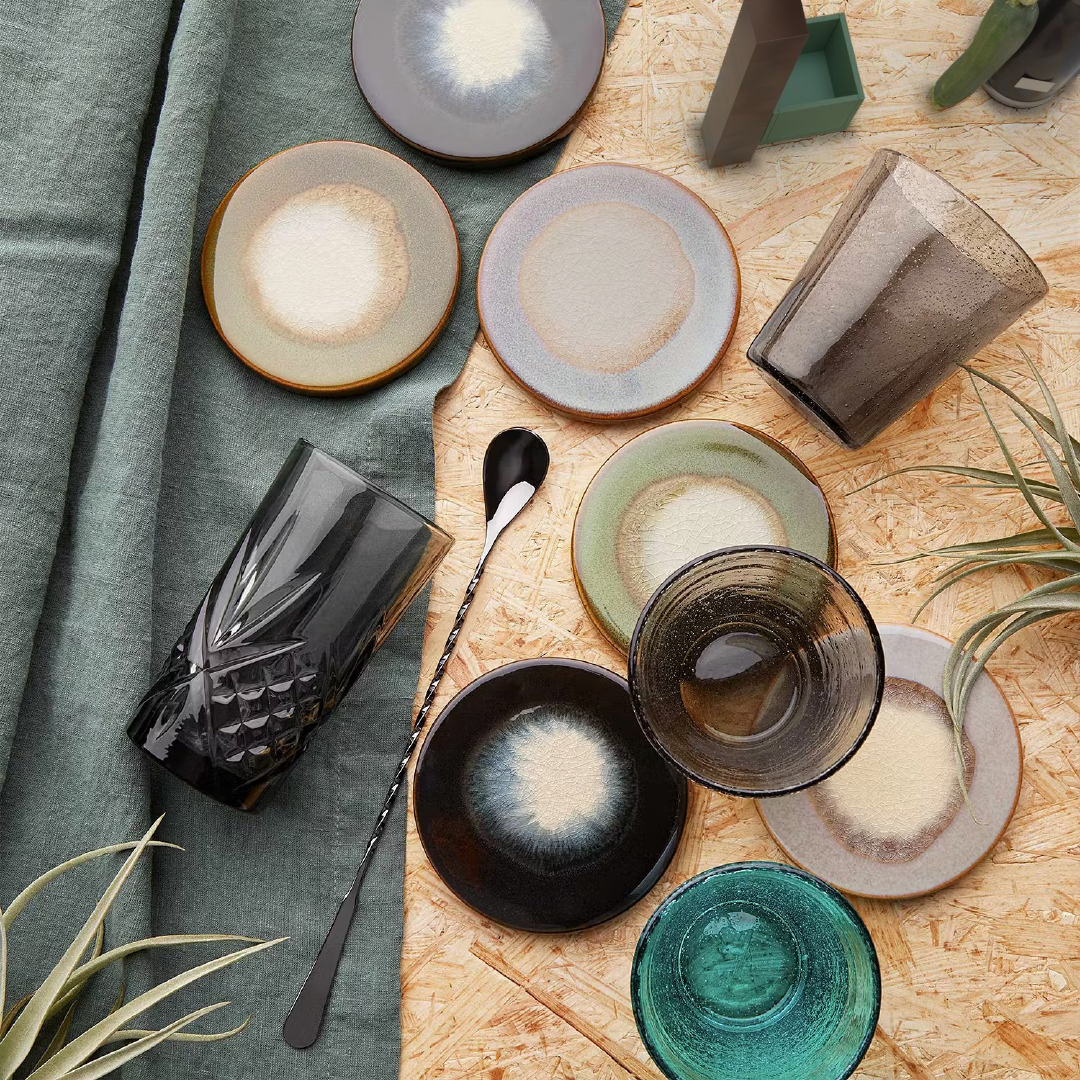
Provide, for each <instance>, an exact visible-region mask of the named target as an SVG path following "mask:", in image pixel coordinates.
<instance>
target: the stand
mask: <svg viewBox="0 0 1080 1080" xmlns="http://www.w3.org/2000/svg"><path fill="white" fill-rule="evenodd" d="M806 18H807V17H806V14H805V11H804V5H803V1H802V0H742V4H741V7H740V10H739V12H738V16H737V18H736V21H735V23H734V28H733V30H732V33H731V36H730V40H729V42H728V45H727V48H726V51H725V54H724V57H723V61H722V63H721V66H720V69H719V72H718V74H717V78H716V81H715V84H714V86H713V89H712V93H711V96H710V98H709V101H708V105H707V108H706V111H705V114H704V117H703V120H702V122H701V125H700V128H699V129H700V134H701V139H702V144H703V149H704V153H705V157H706V162H707V167H708V169H709V170H710V169H715V168H716V169H717V168H721V167H726V166H727V167H728V166H733V165H739V164H744V163H749V162H752V159H753V157H754V155H755V153H756V151H757V148H758V146H759V142H760V140H761V138H762V136H763V133H764V131H765V129H766V127H767V125H768V123H769V120H770V118H771V116H772V114H773V112H774V110H775V108H776V105H777V103H778V101H779V99H780V97H781V95H782V92H783V90H784V88H785V86H786V84H787V82H788V79H789V77H790V75H791V73H792V71H793V69H794V67H795V64H796V62H797V60H798V58H799V56H800V54H801V51H802V49H803V47H804V45H805V43H806V41H807V38H808V36H809V31H808V27H807V23H806Z"/></svg>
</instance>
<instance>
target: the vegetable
mask: <svg viewBox="0 0 1080 1080" xmlns="http://www.w3.org/2000/svg"><path fill="white" fill-rule="evenodd" d="M1038 15H1039V8H1038V4H1037V0H994V1H992V3H991V4H990V6H989V8H988V9H987V11H986V12H985V14H984V16H983V17H982V19H981V22H980V24H979V27H978V29H977V31H976V33H975V35H974V38H973V41H971V43H970V45H969V46H968V48H967V49H966V50H965V51H964V52H963V53H962V54H961V55H960V56H959V57H958V58H956V59H955V60H954V61H953V62H952V63H951V65H950V66H949V67H948V68H947V69H946V70H945V71H944V72H943V73H942V74H941V76H940V77H938V79H937V80H936V82H935V84H934V86H932V87H931V88H930V89H929V90H930V91H929V94H930V97H931V104H932V105H934V110H940V109H941V110H942V109H943V108H945V109H946V108H951V107H954V106H956V105H958V104H960V103H962V102H963V101H965V100H967V99H968V98H969V97H971V96H972V95H973V94H975V93H976V92H978V90H979V89H980V88H982V87H983V86H982V85H983V84H984V83H985V82H986V81H987V80H988V79H989V78H990V77H991V76H992V75H993V74H994V73H995V72H996V71H997V70H998V69H999V68H1000V67H1001V66H1002V65H1003V64H1004V63H1005V62H1006V61H1007V60H1008V59H1009V58H1010V57H1011V56H1012V55H1013V54H1014V53H1015V52H1016V51H1017V50H1018V49H1019V48H1020V46H1021V45H1022V44H1023V43H1024V41H1025V40H1026V39H1027V37H1028V36H1029V35H1030V33H1031V31H1032V30H1033V27H1034V25H1035V23H1036V21H1037V18H1038Z"/></svg>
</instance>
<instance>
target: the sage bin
mask: <svg viewBox="0 0 1080 1080" xmlns="http://www.w3.org/2000/svg"><path fill="white" fill-rule="evenodd" d="M805 18H806V23H807V27H808V31H809V36H808V38H807V41H806V43H805V45H804V47H803V49H802V51H801V54H800V56H799V58H798V60H797V62H796V64H795V67H794V69H793V71H792V73H791V75H790V77H789V79H788V82H787V84H786V86H785V88H784V90H783V92H782V95H781V97H780V99H779V101H778V103H777V105H776V108H775V110H774V112H773V114H772V116H771V118H770V120H769V123H768V125H767V127H766V129H765V131H764V133H763V136H762V138H761V140H760V142H759V144H758V146H759V145H767V144H772V143H778V142H783V141H784V142H785V141H789V140H795V139H801V138H807V137H812V136H818V135H824V134H830V133H836V132H842V131H846V130H847V128H848V127H849V125H850V124H851V122H852V120H853V119H854V117H855V116H856V114H857V112H858V111H859V109H860V107H862V105H863V103H864V101H865V99H866V96H865V92H864V88H863V83H862V80H861V79H862V78H861V76H860V71H859V67H858V63H857V58H856V55H855V50H854V46H853V43H852V38H851V34H850V30H849V26H848V21H847V17H846V13H845V11H842V12H836V13H831V14H824V15H818V16H812V17H805Z"/></svg>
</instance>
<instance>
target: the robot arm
mask: <svg viewBox="0 0 1080 1080" xmlns="http://www.w3.org/2000/svg"><path fill="white" fill-rule="evenodd" d="M1037 4H1038V8H1039V15H1038V18H1037V21H1036V23H1035V25H1034V27H1033V30H1032V31H1031V33H1030V35H1029V36H1028V37H1027V39H1026V40H1025V41H1024V43H1023V44H1022V45H1021V46H1020V48H1019V49H1018V50H1017V51H1016V52H1015V53H1014V54H1013V55H1012V56H1011V57H1010V58H1009V59H1008V60H1007V61H1006V62H1005V63H1004V64H1003V65H1002V66H1001V67H1000V68H999V69H998V70H997V71H996V72H995V73H994V74H993V75H992V76H991V77H990V78H989V79H988V80H987V81H986V82H985V83H984V84H983V85H982V86H981V87H982V88H983V89H984V90H985V92H986V93H988V95H989V96H991V98H993V99H995V100H996V101H997V102H999V103H1001V104H1003V105H1005V106H1008V107H1013V108H1018V109H1028V108H1034V107H1038V106H1040V105H1043V104H1045V103H1047V102H1048V101H1049V100H1051V99H1053V97H1055V95H1056V94H1057V93H1059V91H1060V90H1061V89H1062V88H1066V87H1069V86H1070V85H1071V84H1072V83H1073V82H1074V81H1075V80H1076V79H1077V78H1078V77H1079V76H1080V0H1037Z"/></svg>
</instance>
